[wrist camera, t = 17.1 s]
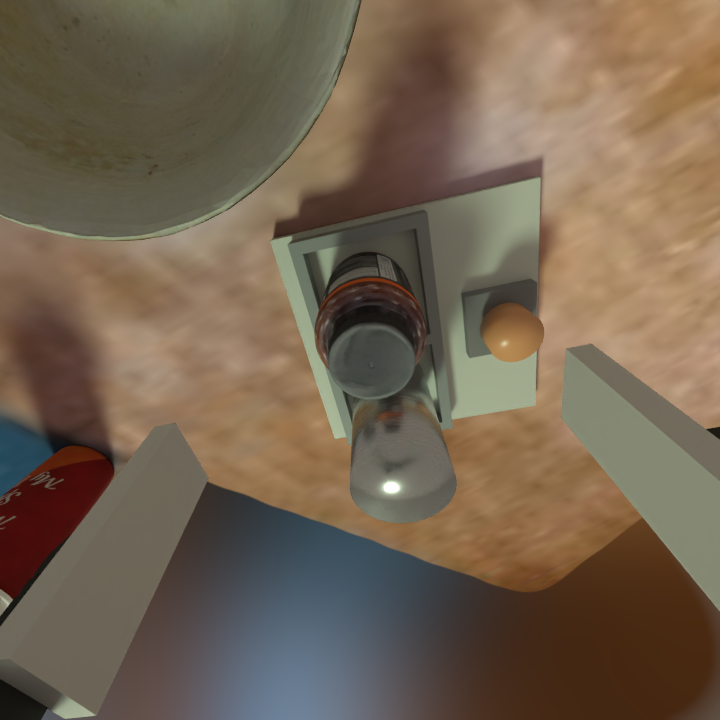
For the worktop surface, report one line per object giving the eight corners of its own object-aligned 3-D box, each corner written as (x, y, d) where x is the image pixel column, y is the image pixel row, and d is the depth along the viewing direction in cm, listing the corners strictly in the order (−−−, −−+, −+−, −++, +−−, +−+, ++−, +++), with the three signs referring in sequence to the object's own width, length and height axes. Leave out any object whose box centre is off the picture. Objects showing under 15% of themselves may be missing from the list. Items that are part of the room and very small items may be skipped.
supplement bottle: (411, 323, 27) (439, 413, 17) (334, 332, 27) (318, 425, 17) (406, 243, 24) (437, 294, 14) (320, 254, 24) (292, 312, 14)
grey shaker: (346, 359, 28) (338, 457, 19) (420, 345, 28) (451, 439, 18) (362, 417, 31) (362, 529, 21) (429, 406, 30) (460, 515, 21)
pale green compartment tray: (273, 238, 25) (264, 244, 23) (533, 177, 23) (552, 177, 21) (335, 431, 33) (333, 450, 31) (530, 398, 31) (543, 416, 29)
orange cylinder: (478, 308, 24) (487, 319, 23) (531, 297, 24) (545, 307, 22) (481, 353, 26) (489, 366, 24) (531, 344, 26) (543, 356, 24)
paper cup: (70, 423, 33) (-104, 574, 21) (140, 470, 36) (23, 627, 23) (29, 461, 35) (-149, 617, 23) (98, 502, 38) (-28, 660, 26)
